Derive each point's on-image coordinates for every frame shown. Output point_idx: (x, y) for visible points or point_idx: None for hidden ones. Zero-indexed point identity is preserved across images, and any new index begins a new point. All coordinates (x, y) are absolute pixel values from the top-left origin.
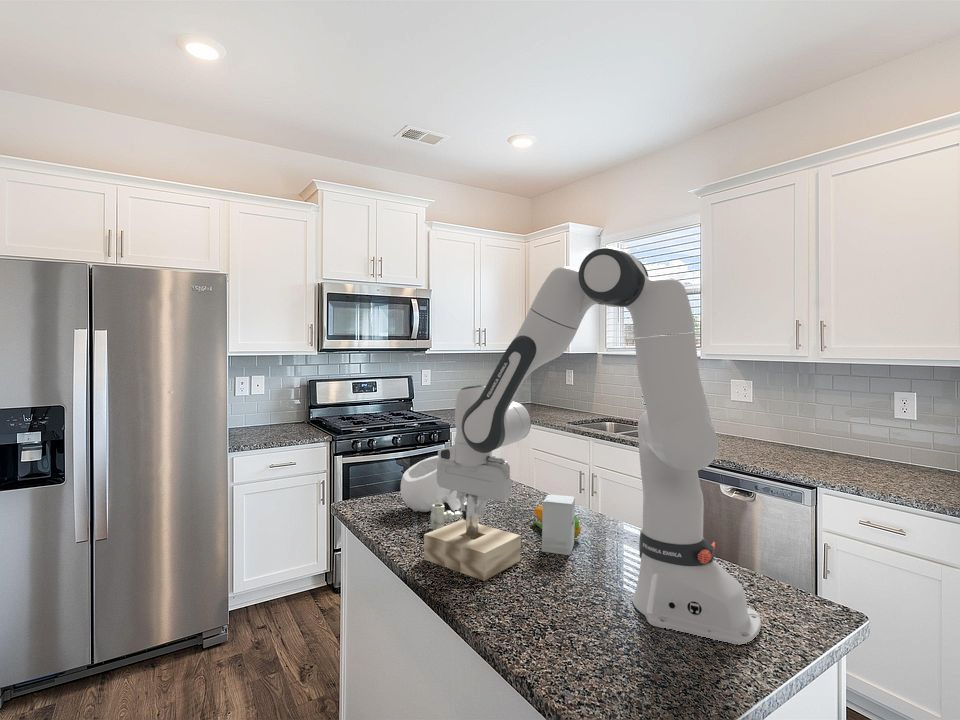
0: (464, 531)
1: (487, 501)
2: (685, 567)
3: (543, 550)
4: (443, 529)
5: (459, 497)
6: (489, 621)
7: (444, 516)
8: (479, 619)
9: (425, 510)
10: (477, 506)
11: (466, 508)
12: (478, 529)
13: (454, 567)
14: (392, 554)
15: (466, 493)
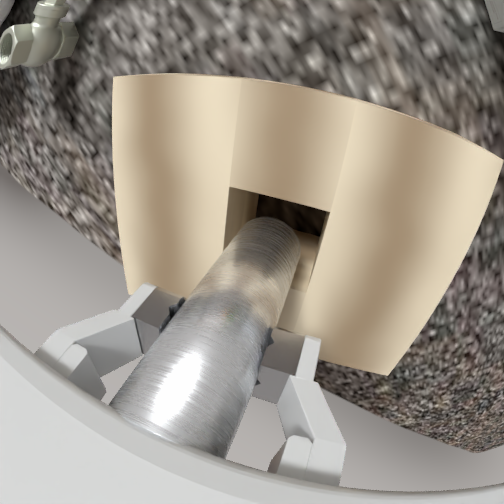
0: (213, 217)
1: (336, 432)
2: None
3: (500, 31)
4: (135, 232)
5: (99, 372)
6: (419, 410)
7: (46, 32)
8: (404, 410)
9: (8, 13)
10: (261, 390)
11: None
12: (295, 256)
13: None
14: (104, 249)
15: (85, 361)
